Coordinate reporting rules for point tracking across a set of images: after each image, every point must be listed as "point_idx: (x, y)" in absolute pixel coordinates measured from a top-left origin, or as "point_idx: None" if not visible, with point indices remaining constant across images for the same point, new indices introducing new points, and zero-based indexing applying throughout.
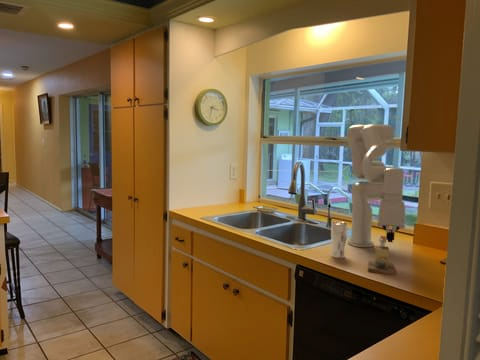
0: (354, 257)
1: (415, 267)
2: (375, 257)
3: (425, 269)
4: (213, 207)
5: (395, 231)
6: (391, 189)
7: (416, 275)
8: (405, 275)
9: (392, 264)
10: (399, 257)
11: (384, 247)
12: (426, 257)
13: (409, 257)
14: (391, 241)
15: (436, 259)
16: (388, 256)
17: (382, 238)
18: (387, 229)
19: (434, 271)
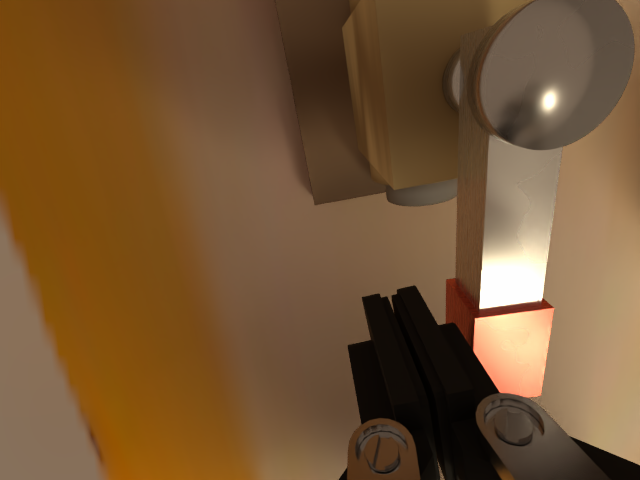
0: (585, 268)
1: (183, 274)
2: None
3: (116, 267)
4: None
5: (349, 459)
6: None
7: (125, 86)
8: (196, 31)
9: (321, 177)
10: (310, 407)
11: (449, 66)
12: (178, 474)
13: (259, 433)
14: (375, 297)
15: (123, 469)
16: (359, 5)
17: (520, 294)
18: (548, 456)
19: (55, 257)
